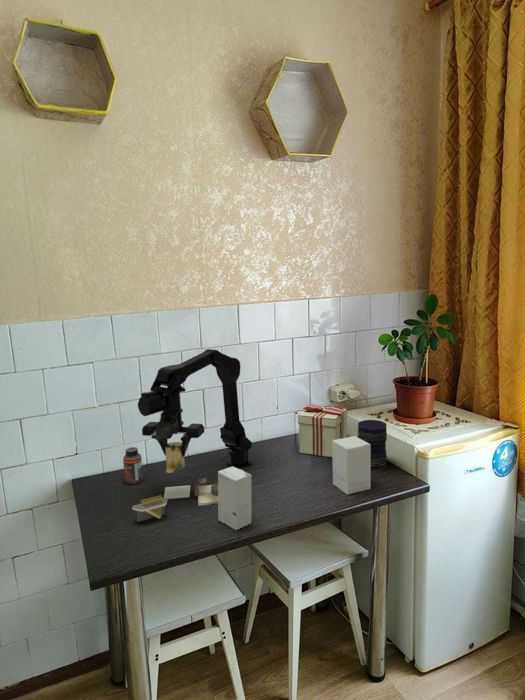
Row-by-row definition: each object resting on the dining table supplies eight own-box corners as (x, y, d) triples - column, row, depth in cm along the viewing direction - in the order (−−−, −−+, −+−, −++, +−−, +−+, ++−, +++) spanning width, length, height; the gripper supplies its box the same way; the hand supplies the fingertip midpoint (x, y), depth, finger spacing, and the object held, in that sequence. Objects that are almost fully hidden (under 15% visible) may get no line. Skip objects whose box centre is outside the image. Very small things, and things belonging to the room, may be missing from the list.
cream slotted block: (238, 484, 163) (238, 469, 162) (241, 502, 151) (240, 485, 150) (195, 488, 161) (194, 472, 160) (194, 506, 149) (193, 489, 148)
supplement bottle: (121, 482, 168) (118, 450, 166) (133, 475, 173) (130, 444, 171) (134, 485, 165) (132, 453, 163) (146, 478, 170) (144, 447, 168)
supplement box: (371, 489, 156) (371, 444, 154) (347, 495, 153) (346, 449, 150) (355, 478, 164) (355, 435, 162) (332, 483, 161) (331, 439, 158)
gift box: (349, 442, 198) (349, 400, 195) (339, 459, 181) (339, 413, 178) (308, 438, 204) (307, 397, 201) (294, 454, 187) (293, 410, 184)
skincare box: (218, 521, 140) (215, 471, 138) (234, 513, 144) (232, 464, 142) (237, 531, 134) (234, 480, 132) (253, 523, 138) (251, 473, 136)
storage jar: (364, 457, 181) (364, 418, 179) (390, 463, 176) (391, 422, 173) (353, 467, 174) (352, 426, 171) (379, 473, 168) (380, 430, 165)
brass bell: (173, 459, 163) (172, 438, 161) (189, 460, 161) (188, 439, 160) (160, 472, 153) (158, 449, 152) (177, 473, 152) (175, 450, 150)
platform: (189, 521, 142) (187, 499, 141) (125, 539, 133) (123, 516, 132) (175, 504, 152) (174, 484, 151) (115, 520, 144) (113, 499, 142)
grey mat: (190, 486, 163) (190, 485, 163) (189, 497, 155) (189, 496, 155) (165, 488, 162) (165, 487, 162) (163, 499, 154) (163, 498, 154)
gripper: (131, 414, 148) (135, 464, 151) (190, 416, 144) (193, 467, 147) (148, 404, 159) (152, 450, 162) (203, 406, 155) (206, 453, 157)
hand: (174, 455), depth 157 cm, fingers closed on brass bell, 6 cm apart
